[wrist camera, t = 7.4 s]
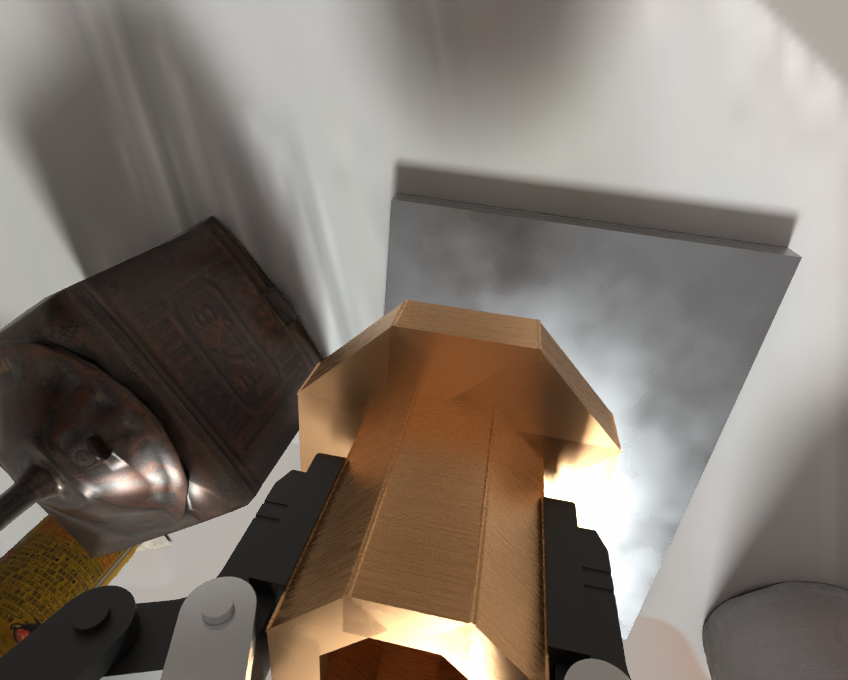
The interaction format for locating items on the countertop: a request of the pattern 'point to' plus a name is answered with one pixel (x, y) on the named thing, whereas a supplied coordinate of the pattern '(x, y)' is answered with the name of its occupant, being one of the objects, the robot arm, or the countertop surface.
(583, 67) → the countertop surface
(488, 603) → the faceted vase
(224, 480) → the coffee grinder
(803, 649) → the pillar candle
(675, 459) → the carrier
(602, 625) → the robot arm
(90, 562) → the condiment
